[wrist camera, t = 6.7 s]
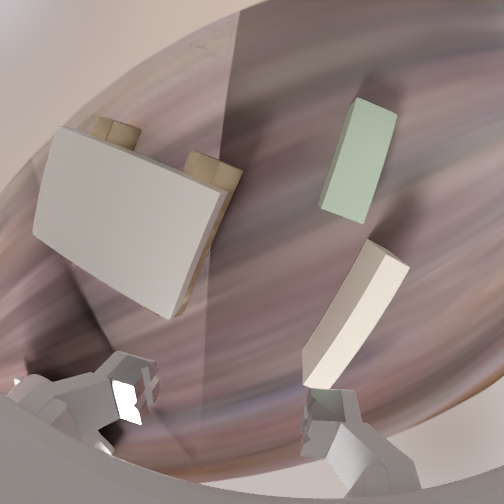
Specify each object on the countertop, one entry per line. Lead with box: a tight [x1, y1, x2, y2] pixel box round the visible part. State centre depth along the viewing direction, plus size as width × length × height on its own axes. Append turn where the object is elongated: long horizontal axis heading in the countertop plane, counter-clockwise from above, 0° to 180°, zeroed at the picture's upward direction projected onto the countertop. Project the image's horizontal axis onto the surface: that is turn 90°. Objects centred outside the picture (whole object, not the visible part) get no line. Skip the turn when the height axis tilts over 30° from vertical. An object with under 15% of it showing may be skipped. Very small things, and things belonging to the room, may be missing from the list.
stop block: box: [302, 239, 410, 389], centre depth 21 cm, size 11×2×5 cm, turn 156°
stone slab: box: [32, 126, 228, 320], centre depth 19 cm, size 9×14×2 cm, turn 65°
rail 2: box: [144, 150, 243, 317], centre depth 21 cm, size 12×4×4 cm, turn 155°
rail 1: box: [61, 116, 142, 263], centre depth 22 cm, size 12×4×4 cm, turn 156°
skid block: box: [317, 97, 398, 224], centre depth 19 cm, size 8×3×4 cm, turn 162°
